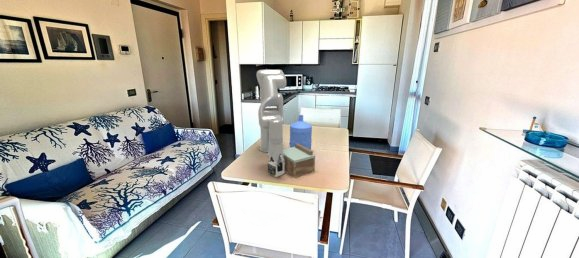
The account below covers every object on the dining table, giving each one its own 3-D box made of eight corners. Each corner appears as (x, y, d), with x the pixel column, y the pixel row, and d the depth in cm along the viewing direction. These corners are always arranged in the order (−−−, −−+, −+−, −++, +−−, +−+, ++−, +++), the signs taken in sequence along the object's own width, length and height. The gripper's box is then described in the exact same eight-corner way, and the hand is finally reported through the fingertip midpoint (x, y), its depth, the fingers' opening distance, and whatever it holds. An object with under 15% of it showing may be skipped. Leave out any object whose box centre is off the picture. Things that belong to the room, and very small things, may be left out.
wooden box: (278, 166, 151) (278, 153, 149) (297, 161, 159) (297, 148, 156) (294, 177, 137) (294, 163, 134) (314, 171, 144) (315, 157, 142)
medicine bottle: (267, 173, 141) (267, 154, 137) (276, 169, 146) (276, 151, 142) (275, 177, 136) (275, 158, 132) (284, 173, 141) (284, 154, 137)
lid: (277, 152, 149) (277, 146, 147) (297, 148, 156) (297, 142, 155) (294, 163, 134) (294, 156, 133) (315, 157, 142) (315, 151, 141)
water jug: (309, 157, 164) (311, 118, 156) (287, 156, 167) (287, 117, 159) (312, 149, 179) (313, 113, 171) (291, 148, 182) (292, 112, 174)
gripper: (263, 137, 140) (263, 164, 145) (277, 146, 126) (278, 175, 131) (274, 134, 143) (274, 161, 149) (289, 143, 130) (289, 172, 135)
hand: (276, 168), depth 140 cm, fingers closed on medicine bottle, 8 cm apart
